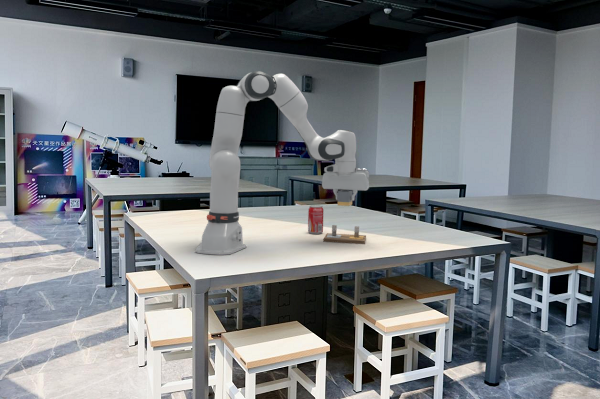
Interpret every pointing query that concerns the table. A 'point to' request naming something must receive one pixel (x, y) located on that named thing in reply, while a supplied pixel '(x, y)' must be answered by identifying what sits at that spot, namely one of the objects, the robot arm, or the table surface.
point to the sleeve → (344, 198)
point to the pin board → (345, 237)
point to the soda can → (315, 219)
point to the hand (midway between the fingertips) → (345, 200)
